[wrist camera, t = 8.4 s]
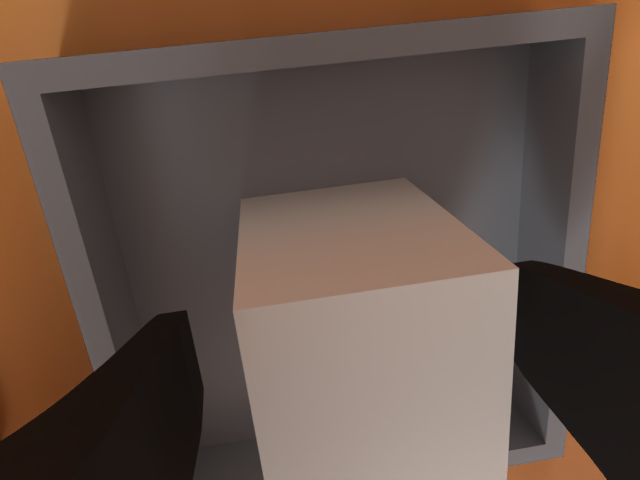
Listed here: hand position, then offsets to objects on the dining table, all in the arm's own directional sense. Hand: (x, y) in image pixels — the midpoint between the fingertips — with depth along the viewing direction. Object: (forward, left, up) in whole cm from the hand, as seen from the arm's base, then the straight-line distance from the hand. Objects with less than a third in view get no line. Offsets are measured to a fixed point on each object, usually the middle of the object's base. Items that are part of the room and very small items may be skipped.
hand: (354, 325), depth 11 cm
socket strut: (0, 0, -3) cm, 3 cm away
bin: (0, 0, -4) cm, 4 cm away
